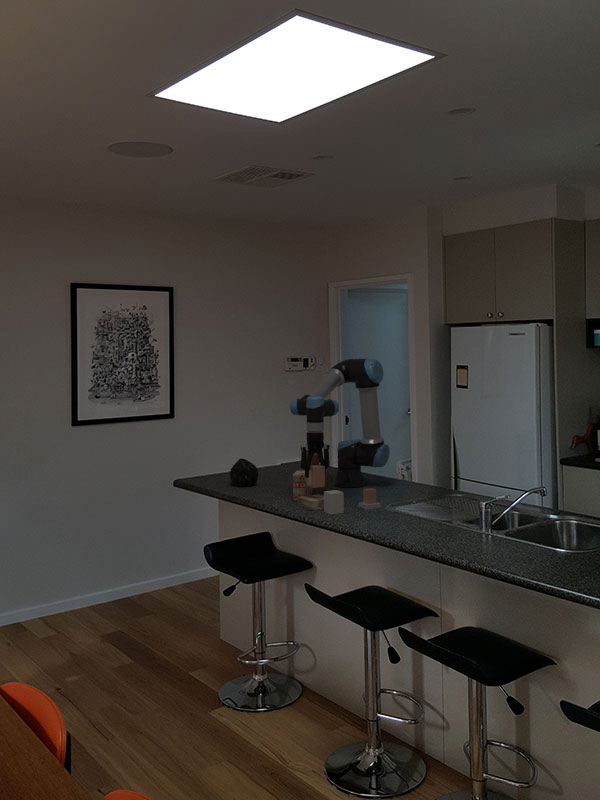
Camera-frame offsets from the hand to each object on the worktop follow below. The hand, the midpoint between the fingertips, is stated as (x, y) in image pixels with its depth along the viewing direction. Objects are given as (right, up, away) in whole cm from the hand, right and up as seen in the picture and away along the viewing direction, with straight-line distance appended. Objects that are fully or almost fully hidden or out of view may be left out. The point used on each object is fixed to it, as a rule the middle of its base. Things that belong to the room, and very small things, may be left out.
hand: (315, 484), depth 332 cm
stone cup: (-2, -5, +78) cm, 78 cm away
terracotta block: (0, -1, 0) cm, 1 cm away
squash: (-35, -7, +55) cm, 66 cm away
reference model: (+24, -10, -2) cm, 26 cm away
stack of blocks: (-5, -9, +25) cm, 27 cm away
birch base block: (0, -10, +1) cm, 10 cm away
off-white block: (+8, -11, -12) cm, 18 cm away
